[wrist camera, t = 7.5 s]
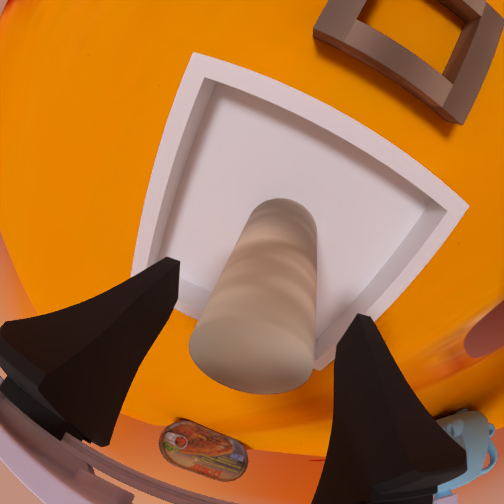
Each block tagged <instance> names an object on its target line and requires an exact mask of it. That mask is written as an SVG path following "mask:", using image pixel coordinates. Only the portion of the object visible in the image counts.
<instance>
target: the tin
mask: <svg viewBox="0 0 504 504" xmlns="http://www.w3.org/2000/svg"><path fill="white" fill-rule="evenodd" d="M159 448H160V451H161V453H162V455H163V457H164V458H165V459H166V460H167V461H168V462H169V463H171V464H172V465H175V466H177V467H180V468H182V469H185V470H188V471H190V472H193V473H196V474H199V475H202V476H205V477H208V478H211V479H214V480H218V481H222V482H228V481H233V480H236V479H238V478H239V477H241V476H242V475H243V474H244V472H245V471H246V469H247V466H248V455H247V452H246V450H245V448H244V446H243V445H242V444H241V443H240V442H239V441H237V440H236V439H233V438H231V437H228V436H226V435H223V434H221V433H218V432H216V431H213V430H211V429H208V428H206V427H204V426H202V425H199V424H197V423H195V422H192V421H186V420H183V421H177V422H174V423H172V424H171V425H169V426H167V427H166V428H165V429H164V430H163V432H162V433H161V435H160V439H159Z"/></svg>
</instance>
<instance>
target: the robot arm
mask: <svg viewBox="0 0 504 504" xmlns="http://www.w3.org/2000/svg"><path fill="white" fill-rule="evenodd" d="M179 275H180V261H179V260H176V259H173V258H170V257H165V258H163V259H161V260H160V261H158V262H156V263H155V264H153V265H151V266H150V267H148V268H146V269H145V270H143V271H141V272H140V273H138V274H136V275H135V276H133V277H131V278H130V279H128V280H126V281H124V282H123V283H121V284H119V285H117V286H115V287H113V288H112V289H110V290H108V291H106V292H104V293H102V294H100V295H98V296H95V297H93V298H91V299H89V300H86V301H84V302H81V303H79V304H76V305H73V306H70V307H67V308H64V309H62V310H59V311H55V312H52V313H48V314H45V315H40V316H36V317H31V318H26V319H20V320H13V321H7V322H5V323H4V324H3V325H2V326H1V328H0V367H1V368H2V369H3V371H4V372H5V373H6V374H7V377H6V378H5V380H4V379H3V378H2V377H1V376H0V459H1V460H2V461H3V463H4V464H5V465H6V466H7V467H8V468H9V469H10V470H11V471H12V473H13V474H14V475H15V476H16V477H17V478H18V479H19V480H20V481H21V482H22V483H23V484H24V485H25V486H26V487H27V488H28V489H29V490H30V491H31V492H32V493H34V494H35V495H36V496H37V497H38V498H39V499H40V500H41V501H42V502H43V503H45V504H132V501H133V499H134V494H132V493H130V492H128V491H126V490H124V489H121V488H120V487H118V486H116V485H114V484H112V483H110V482H108V481H106V480H104V479H102V478H100V477H98V476H96V475H95V473H94V470H93V468H92V467H94V468H96V469H98V470H100V471H101V472H103V473H105V474H107V475H109V476H111V477H112V478H114V479H116V480H118V481H121V482H123V483H125V484H127V485H129V486H131V487H133V488H136V489H138V490H140V491H142V492H145V493H147V494H150V495H152V496H155V497H157V498H160V499H163V500H165V501H168V502H171V503H174V504H237V503H233V502H228V501H224V500H220V499H216V498H212V497H208V496H204V495H201V494H198V493H194V492H191V491H188V490H185V489H182V488H179V487H176V486H173V485H170V484H168V483H165V482H162V481H160V480H157V479H154V478H152V477H149V476H147V475H145V474H143V473H140V472H138V471H136V470H134V469H131V468H129V467H127V466H125V465H123V464H121V463H119V462H117V461H115V460H113V459H111V458H109V457H107V456H105V455H104V454H102V453H100V452H98V451H96V450H95V449H93V448H91V447H89V446H88V445H86V444H84V443H83V442H82V440H85V441H87V442H88V443H91V442H93V443H95V444H96V445H98V446H100V447H104V446H107V445H109V444H110V440H111V436H112V433H113V430H114V427H115V424H116V421H117V418H118V415H119V413H120V410H121V408H122V405H123V402H124V400H125V397H126V395H127V393H128V390H129V388H130V386H131V383H132V381H133V379H134V377H135V375H136V372H137V370H138V368H139V366H140V364H141V362H142V361H143V359H144V357H145V356H146V354H147V352H148V351H149V349H150V348H151V346H152V344H153V343H154V341H155V340H156V338H157V337H158V335H159V333H160V332H161V330H162V329H163V327H164V325H165V324H166V322H167V321H168V319H169V317H170V315H171V313H172V311H173V309H174V307H175V304H176V302H177V300H178V293H179ZM90 465H91V466H90ZM467 470H468V468H467V456H466V450H465V449H464V448H462V447H461V446H460V445H459V444H458V443H457V442H456V441H455V440H453V439H452V438H451V437H450V436H449V435H448V434H447V433H446V432H445V431H444V430H443V429H442V427H441V426H440V425H439V424H438V423H437V422H436V421H435V420H434V418H433V417H432V416H431V415H430V414H429V412H428V411H427V410H426V409H425V407H424V406H423V405H422V403H421V402H420V401H419V399H418V398H417V396H416V395H415V393H414V392H413V390H412V389H411V387H410V386H409V384H408V383H407V381H406V379H405V378H404V376H403V374H402V373H401V371H400V369H399V367H398V366H397V364H396V362H395V360H394V359H393V357H392V355H391V353H390V351H389V349H388V347H387V345H386V344H385V342H384V340H383V338H382V336H381V334H380V332H379V330H378V328H377V327H376V325H375V323H374V321H373V320H372V318H371V316H367V315H363V314H359V313H357V315H356V316H355V318H354V319H353V321H352V323H351V324H350V326H349V327H348V329H347V330H346V332H345V333H344V335H343V336H342V338H341V339H340V341H339V342H338V343H337V346H336V354H335V362H334V409H333V423H332V430H331V436H330V441H329V446H328V451H327V455H326V460H325V464H324V467H323V471H322V474H321V478H320V481H319V484H318V487H317V490H316V493H315V495H314V498H313V500H312V503H311V504H458V494H457V493H455V494H452V495H448V496H445V497H441V498H437V499H434V500H433V494H436V493H437V492H438V485H441V484H443V483H446V482H448V481H450V480H453V479H455V478H457V477H459V476H461V475H463V474H464V473H465V472H466V471H467Z"/></svg>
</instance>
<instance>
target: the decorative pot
mask: <svg viewBox="0 0 504 504" xmlns="http://www.w3.org/2000/svg"><path fill="white" fill-rule="evenodd" d="M435 421H436V422H437V423H438V424H439V425H440V426H441V427H442V429H443V430H444V431H445V432H446V433H447V434H448V435H449V436H450V437H451V438H452V439H453V440H455V441H456V442H457V443H458V444H459V445H460V446H461V447H462V448H464V449H465V450H466V456H467V468H468V470H467V471H466V472H465V473H464V474H463V475H461V476H459V477H457V478H455V479H453V480H450V481H448V482H446V483H443V484H441V485H438V492H437V493H436V494H433V495H435V497H434V499H437V498H441V497H445V496H448V495H452V492H451V490H452V489H455V488H458V487H460V486H463V485H465V484H467V483H469V482H471V481H473V480H474V479H476V478H477V477H478V476H480V475H483V474H485V473H487V472H488V471H489V470H491V469H492V467H493V466H494V465H495V463H496V461H497V458H498V454H497V450H496V448H495V445H494V444H493V442H492V441H491V439H490V437H492V436H493V434H494V432H495V427H494V425H493V424H490V423H488V419H487V418H486V417H485V416H484V415H483V414H481V413H480V412H478V411H476V410H474V411H468V408H465V409H462V410H460V411H458V412H456V413H455V414H454V415H451V416H447V417H444V418H441V419H438V420H435ZM487 451H488V453H489V455H490V464H489V465H488V466H487V467H486V468H484V469H482V467H483V464H484V461H485V458H486V454H487ZM434 499H433V500H434Z"/></svg>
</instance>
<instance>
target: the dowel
mask: <svg viewBox="0 0 504 504" xmlns="http://www.w3.org/2000/svg"><path fill="white" fill-rule="evenodd" d="M316 297H317V227H316V223H315V220H314V218H313V216H312V214H311V213H310V212H309V211H308V209H306V208H305V207H304V206H303V205H301V204H300V203H298V202H296V201H293V200H290V199H285V198H275V199H270V200H267V201H265V202H263V203H261V204H259V205H258V206H257V207H256V208H255V209H254V210H253V211H252V213H251V215H250V217H249V219H248V221H247V222H246V224H245V226H244V228H243V230H242V232H241V235H240V237H239V239H238V241H237V243H236V245H235V247H234V249H233V251H232V253H231V255H230V257H229V259H228V261H227V263H226V265H225V267H224V269H223V271H222V273H221V275H220V277H219V279H218V281H217V283H216V285H215V287H214V289H213V292H212V294H211V296H210V298H209V300H208V302H207V304H206V306H205V308H204V310H203V312H202V314H201V316H200V319H199V321H198V323H197V325H196V327H195V329H194V331H193V333H192V335H191V337H190V340H189V352H190V355H191V357H192V359H193V361H194V362H195V364H196V365H197V366H198V367H199V368H200V369H201V371H203V372H204V373H205V374H206V375H207V376H209V377H210V378H212V379H213V380H215V381H217V382H218V383H220V384H222V385H224V386H227V387H229V388H232V389H235V390H238V391H242V392H247V393H253V394H278V393H284V392H287V391H291V390H293V389H296V388H298V387H299V386H301V385H302V384H304V383H305V382H306V381H307V380H308V379H309V377H310V376H311V374H312V371H313V361H314V345H315V326H316Z"/></svg>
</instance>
